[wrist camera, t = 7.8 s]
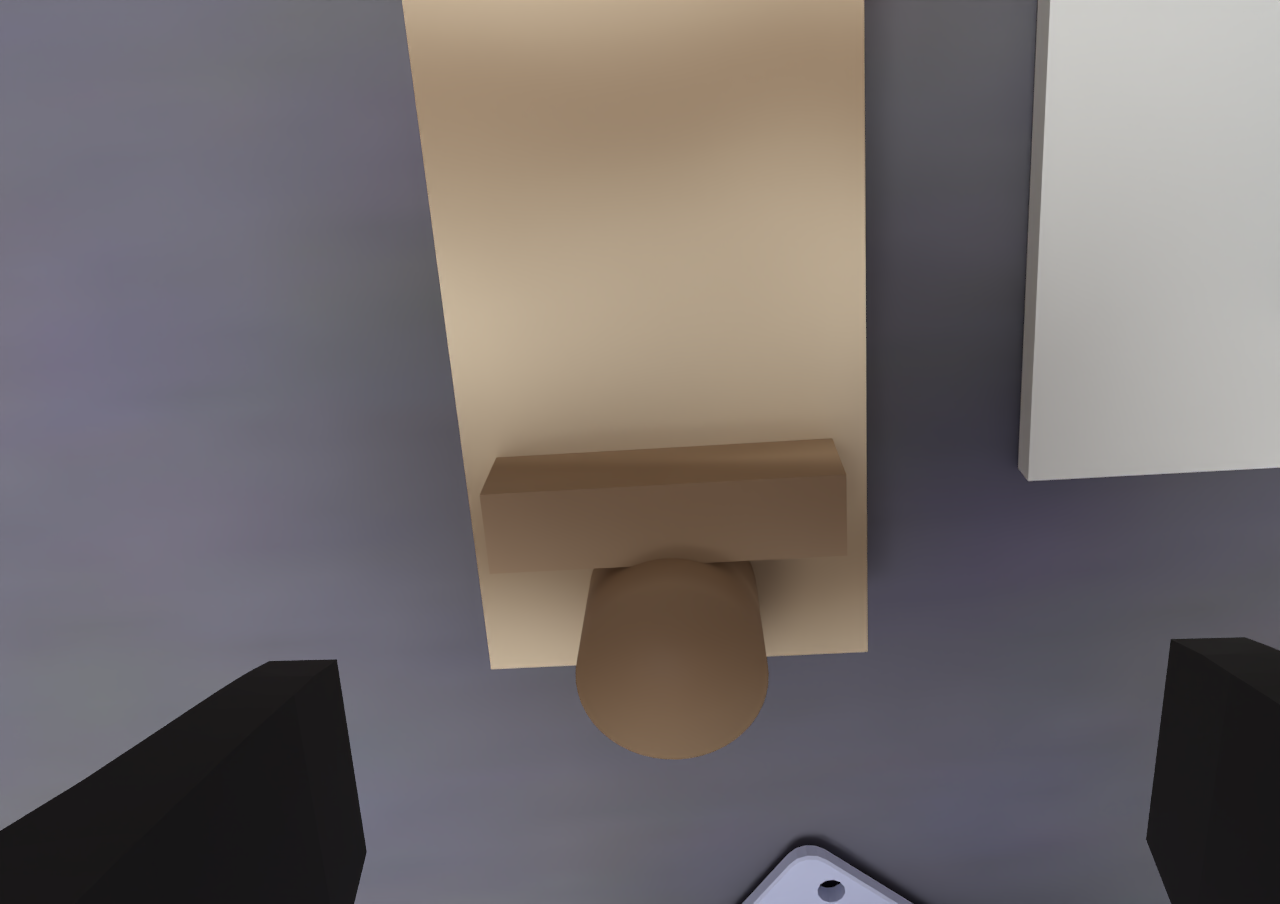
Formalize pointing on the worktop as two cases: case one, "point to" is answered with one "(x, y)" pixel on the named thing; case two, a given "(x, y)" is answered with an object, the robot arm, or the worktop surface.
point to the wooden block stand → (655, 339)
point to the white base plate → (1153, 240)
